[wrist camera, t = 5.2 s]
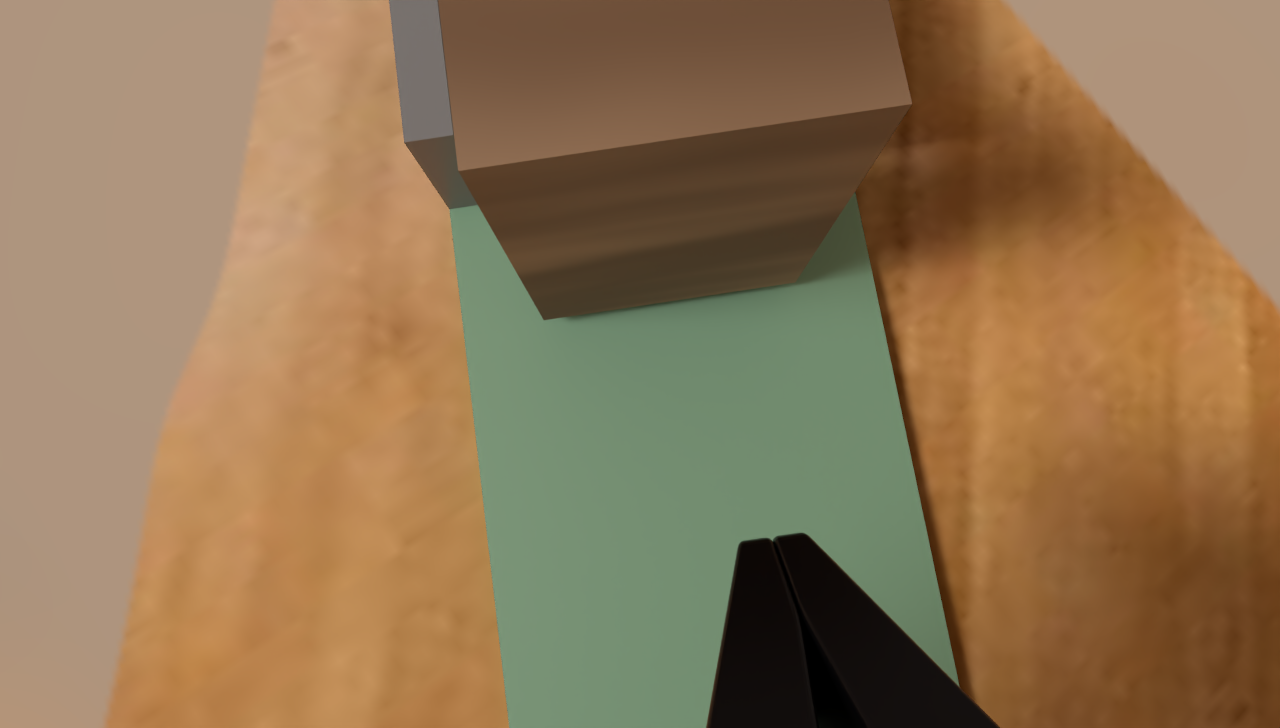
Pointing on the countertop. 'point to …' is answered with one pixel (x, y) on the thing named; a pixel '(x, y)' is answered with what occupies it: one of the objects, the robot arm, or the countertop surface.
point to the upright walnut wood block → (666, 137)
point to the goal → (427, 97)
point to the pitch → (679, 474)
